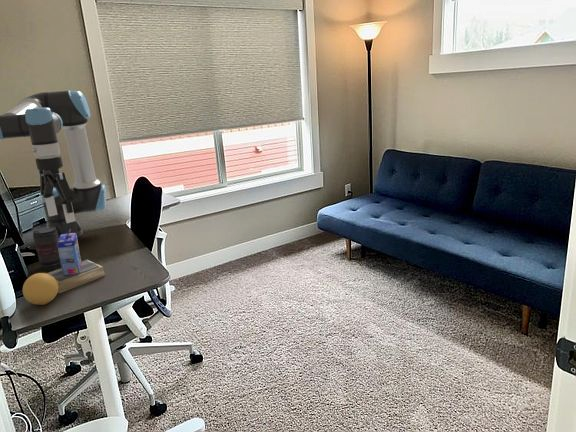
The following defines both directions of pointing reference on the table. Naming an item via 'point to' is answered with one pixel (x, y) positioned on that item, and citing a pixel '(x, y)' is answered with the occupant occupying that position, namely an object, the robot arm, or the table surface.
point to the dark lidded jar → (47, 247)
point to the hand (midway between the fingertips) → (61, 218)
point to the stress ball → (40, 288)
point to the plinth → (78, 276)
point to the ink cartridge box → (69, 253)
